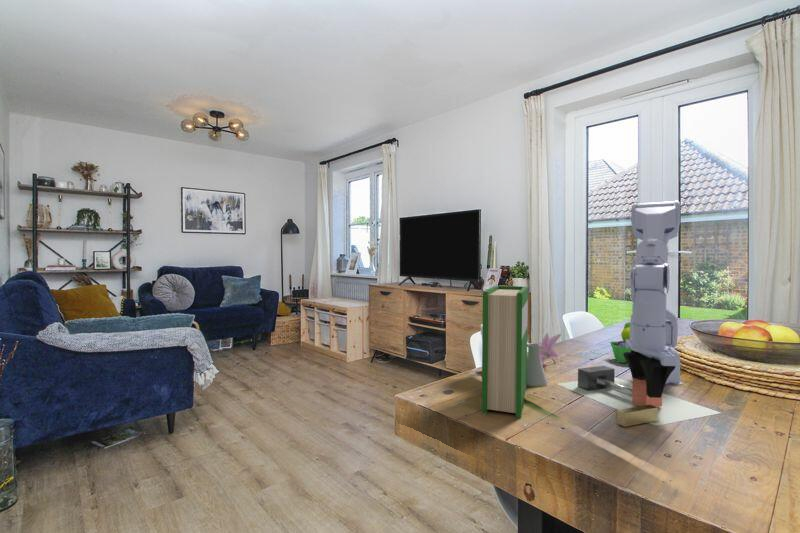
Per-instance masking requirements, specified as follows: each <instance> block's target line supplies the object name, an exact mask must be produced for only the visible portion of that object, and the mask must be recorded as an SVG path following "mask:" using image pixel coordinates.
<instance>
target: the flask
mask: <svg viewBox="0 0 800 533" xmlns="http://www.w3.org/2000/svg"><path fill="white" fill-rule="evenodd" d="M535 343H536V342H533V343H531V342H530V343H529V342H527V386H531V387H547V386H548V384H549V381H548V377H547V375H546V372H545V369H544V364H543V365H542V362H541V357H540V348H541V345H540V344H535Z"/></svg>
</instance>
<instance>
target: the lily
mask: <svg viewBox="0 0 800 533" xmlns="http://www.w3.org/2000/svg"><path fill="white" fill-rule="evenodd" d="M561 336H562V333H558V334H556V335H554V336H551V337H550V336H549V333H548V332H547V333H545V335H544V336H543V338H542V340H541V342H539V341H537V342H534V343H535V344H540V345H541V348H540V357H541V362H542V365H543V366H544V364H545V362H546V361H547V360H549V359H550V360H552V362H553V363H554V364H557V363H556V360H555V359H556V358H558V357H559V355H558V353H557V352H556V350H555V349H554V347H555V345H556V343H557V342H558V340H559V339H560V338H561Z"/></svg>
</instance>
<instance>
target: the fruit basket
mask: <svg viewBox="0 0 800 533" xmlns="http://www.w3.org/2000/svg"><path fill="white" fill-rule="evenodd" d="M620 336H621V339H622V340H619V341H610V342H609V343H610V346H611V350H612V352H613V356H614V359H615V358H616V359H615V360H616V361H617V362H618V363H619V362H627V360H626V359H625V357H624V353H625V352H630V351H631V349H627V348H626V339H630V322H629V321H628V322H626V323H625V324H624V326H623V329H622V330H621V334H620ZM626 364H628V362H627V363H626Z"/></svg>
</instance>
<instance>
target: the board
mask: <svg viewBox="0 0 800 533" xmlns="http://www.w3.org/2000/svg"><path fill="white" fill-rule="evenodd" d="M614 383H616V384H619V385H622V386H625V387H628V388H631V389H633V382H630V381H627V380H624V379H621V378H618V377H616V376H615V378H614ZM556 385H557V386H560V387H562V388H565V389H567V390H569V391H572V392H575V393H577V394H578V395H581V396H583V397H587V398H589V399H591V400H593V401H596V402H598V403H601V404H603V405H605V406H608V407H610V408H612V409H615V410H616V411H617V410H621V409H627V408H633V407H639V406H637V405H634V404H632V397H630V396H628V395H625V394H622V393H619V392H617V391H614V390H611V389H609V388H605V389H598V390H591V391H587V390H584V389H582V388H579V387H578V380H575V381H567V382H560V383H558V382H557V383H556ZM719 414H722V412H720V411H717V410H714V409H711V408H708V407H705V406H702V405H699V404H696V403H694V402H691V401H687V400H684V399H681V398H678V397H675V396H672V395H670V394H667V393H664V392H663V393H662V406H660V407H658V414H657V421H652V422H647V423H648V424H651V425H653V426H655V427H659V426H665V425H670V424H674V423H678V422H679V423H680V422H683V421H690V420H693V419H700V418H704V417H710V416H715V415H719Z"/></svg>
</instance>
